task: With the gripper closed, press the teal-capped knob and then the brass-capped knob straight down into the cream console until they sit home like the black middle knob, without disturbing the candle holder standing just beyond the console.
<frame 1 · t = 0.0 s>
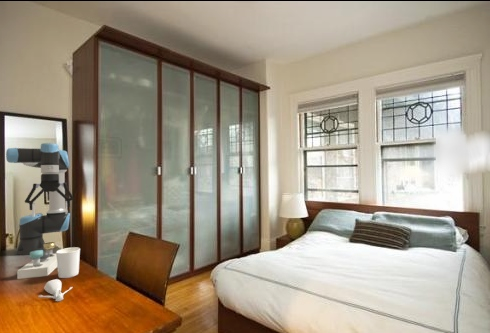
hand: (50, 215, 139), 28 cm above the table, fingers open, 13 cm apart
knob mid: (43, 259, 142), point 5 cm above the table, slide at 2.8 cm
console: (43, 268, 142), on the table
knob 1: (36, 258, 134), point 8 cm above the table, slide at 0.0 cm
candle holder: (68, 275, 132), on the table
knob 2: (49, 249, 149), point 8 cm above the table, slide at 0.0 cm
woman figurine: (55, 295, 111), on the table
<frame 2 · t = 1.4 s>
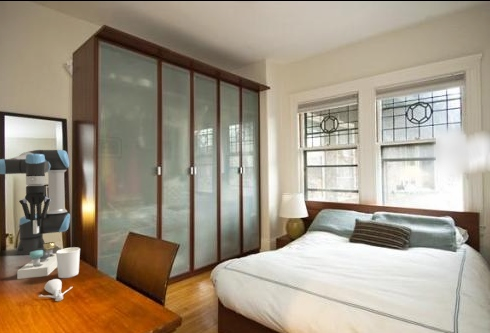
hand: (36, 233, 134), 20 cm above the table, fingers closed
nothing on the table moved.
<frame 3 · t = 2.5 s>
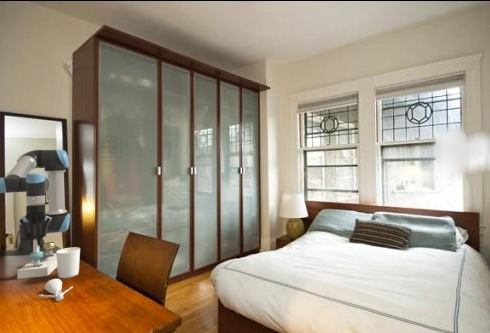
hand: (36, 252, 134), 11 cm above the table, fingers closed
knob 1: (36, 259, 134), point 7 cm above the table, slide at 0.7 cm, touching gripper
everything else where it was.
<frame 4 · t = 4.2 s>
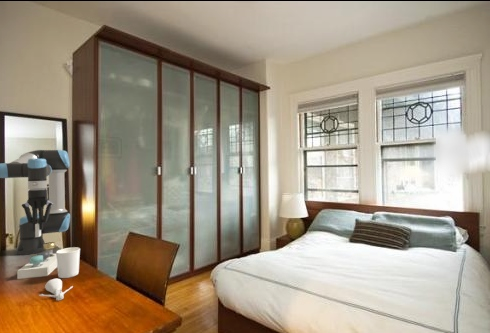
hand: (38, 236, 137), 18 cm above the table, fingers closed
knob 1: (36, 263, 134), point 5 cm above the table, slide at 2.6 cm
everything else where it was.
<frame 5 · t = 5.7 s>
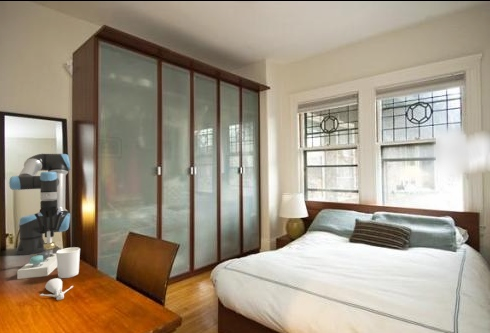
hand: (49, 243, 149), 11 cm above the table, fingers closed
knob 2: (49, 249, 149), point 8 cm above the table, slide at 0.0 cm, touching gripper
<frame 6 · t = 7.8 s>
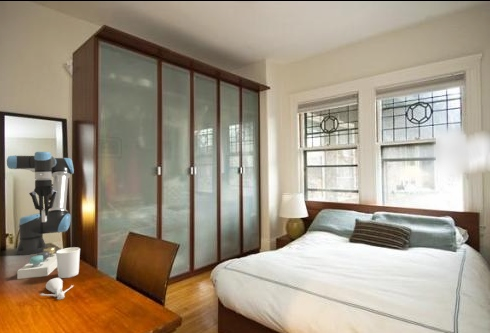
hand: (44, 221, 152), 23 cm above the table, fingers closed
knob 2: (49, 254, 149), point 5 cm above the table, slide at 2.6 cm
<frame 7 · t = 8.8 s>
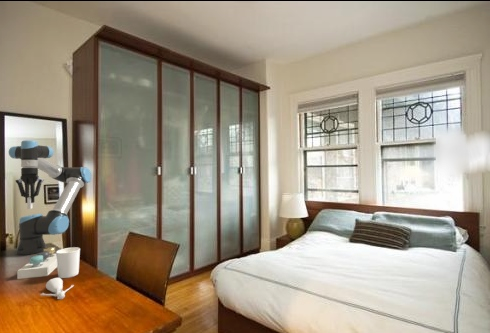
hand: (30, 208, 156), 29 cm above the table, fingers closed
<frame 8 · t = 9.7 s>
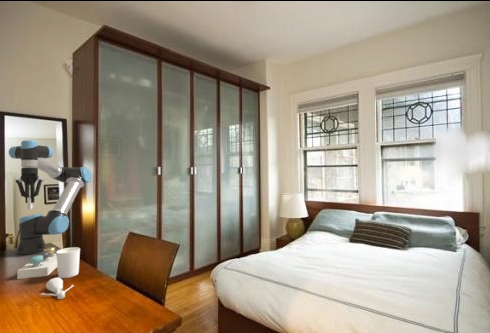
hand: (30, 208, 156), 29 cm above the table, fingers closed
at the end: knob 1 slide at 2.6 cm; knob 2 slide at 2.6 cm; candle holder moved 0.2 cm from its start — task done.
